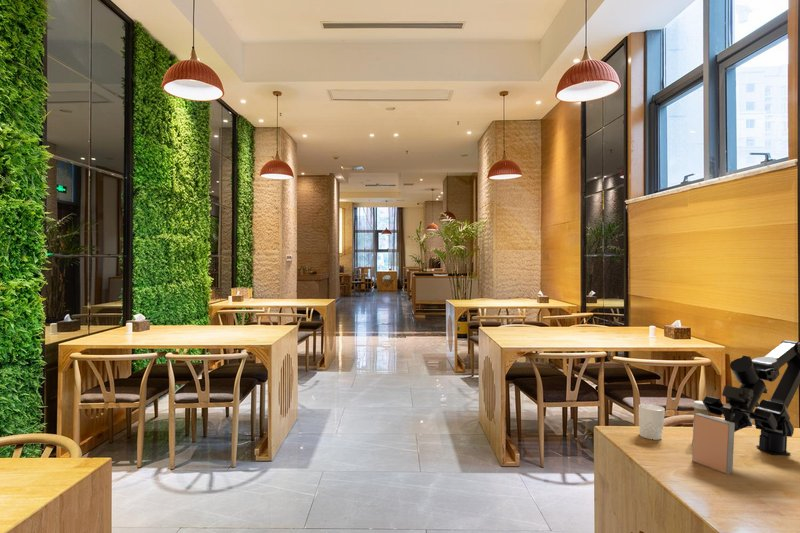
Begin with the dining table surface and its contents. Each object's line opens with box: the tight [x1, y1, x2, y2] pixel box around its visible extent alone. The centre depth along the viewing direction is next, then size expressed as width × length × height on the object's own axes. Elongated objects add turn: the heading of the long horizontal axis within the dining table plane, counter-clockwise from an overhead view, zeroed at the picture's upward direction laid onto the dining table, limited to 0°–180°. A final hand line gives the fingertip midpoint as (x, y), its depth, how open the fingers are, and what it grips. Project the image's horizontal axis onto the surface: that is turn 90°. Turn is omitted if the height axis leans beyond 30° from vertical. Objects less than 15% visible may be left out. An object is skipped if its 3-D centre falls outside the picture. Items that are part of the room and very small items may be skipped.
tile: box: [691, 413, 735, 475], centre depth 144 cm, size 3×10×14 cm, turn 28°
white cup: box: [638, 403, 666, 441], centre depth 169 cm, size 8×8×10 cm
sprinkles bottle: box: [691, 400, 710, 442], centre depth 164 cm, size 5×5×14 cm
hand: (725, 434), depth 147 cm, fingers closed
